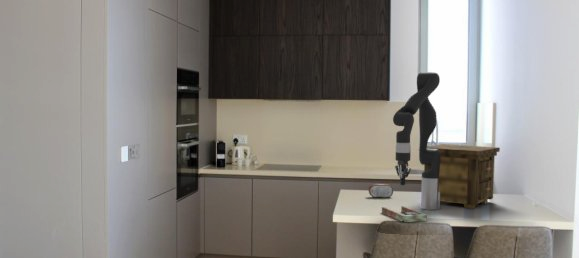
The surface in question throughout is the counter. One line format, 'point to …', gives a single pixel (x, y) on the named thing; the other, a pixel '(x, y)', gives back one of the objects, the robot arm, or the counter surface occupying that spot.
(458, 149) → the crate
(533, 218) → the counter surface
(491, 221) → the counter surface
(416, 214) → the block
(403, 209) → the track
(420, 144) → the robot arm
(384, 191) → the tin
